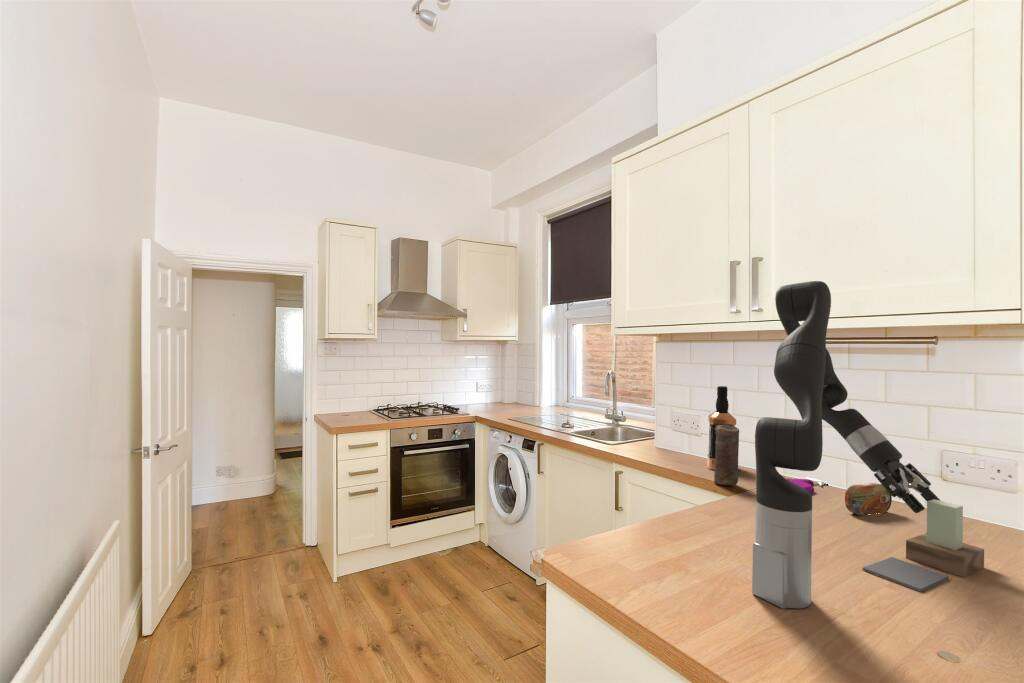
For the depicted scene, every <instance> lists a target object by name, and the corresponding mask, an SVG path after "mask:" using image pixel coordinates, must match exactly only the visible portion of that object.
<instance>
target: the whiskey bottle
mask: <svg viewBox="0 0 1024 683" xmlns="http://www.w3.org/2000/svg"><path fill="white" fill-rule="evenodd" d="M716 389H717V390H716V392H717V393H716V396H717V398H716V400H715V411H714V412H712V413H711V414H709V415H708V417H707V420H708V423H709V431H708V433H709V434H708V453H707V457H706V458H707V459H706V464H707V467H708V468H707V469H709V470H713V471H715V453H716V429H717V426H718V425H729V426H734V427H736V425H737V418H735V417H734V416H733V415H732V414H731V413H730V412H729V407H730V406H729V400H728V391H729V390H728V386H726V385H725V386H724V385H718V386H717V387H716Z"/></svg>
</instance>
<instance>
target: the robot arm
mask: <svg viewBox="0 0 1024 683" xmlns="http://www.w3.org/2000/svg"><path fill="white" fill-rule="evenodd" d="M775 308H776V312H777V315H778V318H779V320H780V322H781V324H782V327H783V329H784V331H785V333H786V335H787V336H786V337H785V338H784V340H782V341H781V343H780V344H779V345H778V348H777V350H776V352H775V353H776V354H775V362H774V367H773V374H774V375H773V376H774V378H775V381H776V383H777V384H778V386H779V387H780V388H781V390H782V391H783V392H784V393H785V394H786V396H787V397H788V398H789V399H790V400H791V401H792V403H793V404H794V405H795V407H796V408H797V411H798V413H799V416H800V417H801V419H793V418H792V419H790V418H783V417H781V418H780V417H769V416H768V417H767V416H766V417H761V418H760V419H758V421H757V423H756V426H755V432H754V450H755V451H754V452H755V471H756V474H755V475H756V476H755V480H756V482H755V484H756V486H755V489H756V490H755V542H754V543H753V544H752V578H751V579H752V580H751V589H752V590H751V593H752V594H753V595H755V596H757V597H758V598H760V599H763V600H765V601H767V602H769V603H771V604H773V605H775V606H777V607H778V608H781V609H783V610H785V609H805V608H808V607H809V606H811V604H812V554H813V553H812V551H813V550H812V549H813V548H812V544H813V538H812V537H813V535H812V534H813V532H812V531H813V495H812V494H811V493H810V492H809V491H807V490H806V489H804V488H803V487H801V486H798V485H796V484H794V483H792V482H790V481H789V480H787V479H788V478H786V477H784V476H783V475H782V474H780V473H779V471H778V470H777V468H779V469H780V468H781V469H787V470H794V471H795V470H796V471H799V472H800V471H802V472H814V471H816V470H817V469H818V468H819V467H820V465H821V461H822V458H823V440H824V439H823V421H824V422H826V423H827V424H828V425H829V426H831V427H832V428H833V429H834V430H835V431H836V432H837V433H838V434H839V435H840V436H841V437H842V438H843V440H844V441H845V442H846V443H847V445H849V447H850V449H851V450H852V451H853V452H854V454H856V455H857V456H858V458H859V459H860V460H861V461H862V462H863V463H864V464H865V465H866V466H867V467H868V469H869V470H870V471H871V472H873V475H874V477H875V478H876V479H877V481H878V482H879V484H882V485H883V486H884V487H885V489H886V490H887V491H888V492H889V493H890V494H891V496H892V497H893V498H895V497H897V498H898V499H901V500H902V501H903V502H904V503H905V504H906V505H907V506H908V508H910V509H911V511H912V512H913V513H915V514H919V513H920V512H923V511H924V510H925V506H924V505H923V504H922V503H921V502H920V500H918V499H917V498H916V497H915V496H914V494H913V493H911V491H910V489H913V490H914V491H916V492H917V493H919V495H920V496H921V497H922V498H923V499H924V500H925V501H926V502H927V501H930V500H934V499H935V500H939V501H942V500H941V499H940V498H939V497H938V496H937V495H936V494H935V493H934V492H933V491H932V490H931V487H930V486H931V485H932V483H931V482H930V481H929V480H928V478H926V477H925V476H924V474H922V473H921V471H919V470H918V469H917V468H916V467H915V466H914V465H913V464H912V463H907V464H904V463H902V462H901V461H900V460H901V459H902V458H903V454H902V453H901V452H900V451H899V450H898V449H897V448H896V446H894V445H893V444H892V443H891V441H890V440H888V438H887V437H886V436H885V435H884V434H883V433H881V432H880V431H879V429H877V428H876V427H875V426H874V425H872V424H871V422H869V420H868V419H867V418H866V417H865V416H863V414H862V413H860V412H859V411H858V410H857V409H855V408H847V409H843V410H842V409H841V410H837V409H836V410H835V409H833V408H835V407H837V406H839V405H841V404H843V403H844V402H846V400H847V398H848V390H847V389H846V387H845V385H844V384H843V383H842V382H841V380H840V379H839V377H838V375H837V374H836V372H835V370H834V369H835V368H834V365H833V359H832V357H831V354H830V352H829V350H828V349H827V331H828V325H829V320H830V314H831V308H832V294H831V290H830V287H829V286H828V284H827V283H825V282H824V281H821V280H818V281H817V280H814V281H812V280H811V281H804V282H803V281H802V282H798V283H791V284H785V285H781V286H779V287H778V288H777V289H776V292H775ZM800 322H802V323H800Z"/></svg>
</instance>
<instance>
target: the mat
mask: <svg viewBox="0 0 1024 683" xmlns="http://www.w3.org/2000/svg"><path fill="white" fill-rule="evenodd" d="M863 570H865V571H864V572H866V571H868V572H870V573H869V574H871V573H872V574H871V575H874V574H875V575H874V576H876V575H878V576H877V577H879V576H880V578H882V577H883V578H882V579H884V578H885V580H887V579H888V580H887V581H890V582H892V581H893V583H895V584H897V585H900V584H901V586H903V587H906V588H909V589H911V590H914V591H917V592H919V593H922V592H924V591H926V590H928V589H931V588H933V587H935V586H937V585H940V584H942V583H944V582H945V581H947V580H949V579H950V576H949V575H946V574H944V573H941V572H937V571H935V570H932V569H928V568H926V567H923V566H920V565H917V564H914V563H911V562H908V561H906V560H903V559H899V558H896V557H893V556H890V557H887V558H885V559H882V560H879V561H877V562H874V563H871V564H868V565H866V566H863V567H862V571H863ZM868 572H867V573H868Z"/></svg>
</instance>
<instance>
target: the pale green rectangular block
mask: <svg viewBox="0 0 1024 683" xmlns="http://www.w3.org/2000/svg"><path fill="white" fill-rule="evenodd" d="M963 517H964V506H963V505H961V504H960V505H959V504H957V503H952V502H948V501H944V500H943V501H942V500H941V501H939V500H935V499H934V500H930V501H926V533H927V542H929V543H933V544H936V545H940V546H943V547H946V548H950V549H953V550H957V549H960V548H962V547H963V543H964V542H963V539H964V536H963V535H964V532H963V529H964V527H963V526H964V522H963V520H964V518H963Z"/></svg>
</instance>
